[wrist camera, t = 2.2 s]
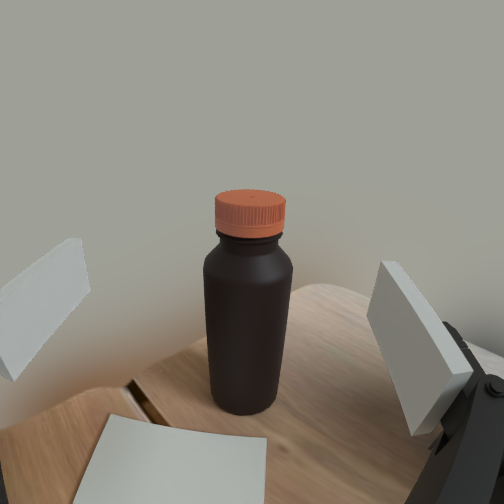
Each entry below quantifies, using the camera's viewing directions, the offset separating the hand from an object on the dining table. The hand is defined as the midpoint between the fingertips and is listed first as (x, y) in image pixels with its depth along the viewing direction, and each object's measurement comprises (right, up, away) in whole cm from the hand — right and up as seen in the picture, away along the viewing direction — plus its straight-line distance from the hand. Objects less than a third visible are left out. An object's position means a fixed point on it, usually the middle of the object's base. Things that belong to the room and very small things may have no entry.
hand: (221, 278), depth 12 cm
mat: (-6, -21, 0) cm, 21 cm away
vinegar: (0, -14, +17) cm, 22 cm away
